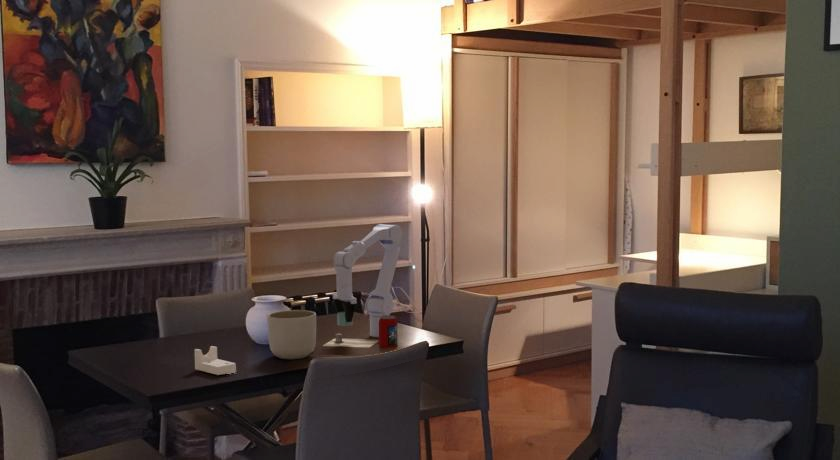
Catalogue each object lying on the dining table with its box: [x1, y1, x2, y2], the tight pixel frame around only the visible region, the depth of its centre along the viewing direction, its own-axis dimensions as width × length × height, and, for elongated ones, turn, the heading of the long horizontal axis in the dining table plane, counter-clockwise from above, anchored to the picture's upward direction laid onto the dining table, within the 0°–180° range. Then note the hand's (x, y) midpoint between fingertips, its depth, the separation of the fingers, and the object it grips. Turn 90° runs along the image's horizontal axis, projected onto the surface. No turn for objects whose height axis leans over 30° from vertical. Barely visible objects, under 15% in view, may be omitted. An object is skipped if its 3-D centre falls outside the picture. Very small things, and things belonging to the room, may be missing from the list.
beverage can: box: [378, 315, 399, 349], centre depth 346 cm, size 7×7×12 cm
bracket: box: [194, 345, 237, 376], centre depth 315 cm, size 13×7×8 cm, turn 47°
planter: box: [266, 309, 317, 360], centre depth 336 cm, size 17×17×15 cm
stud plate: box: [322, 333, 379, 349], centre depth 353 cm, size 14×18×4 cm
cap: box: [336, 311, 354, 327], centre depth 353 cm, size 6×6×4 cm
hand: (344, 320), depth 353 cm, fingers closed on cap, 5 cm apart
